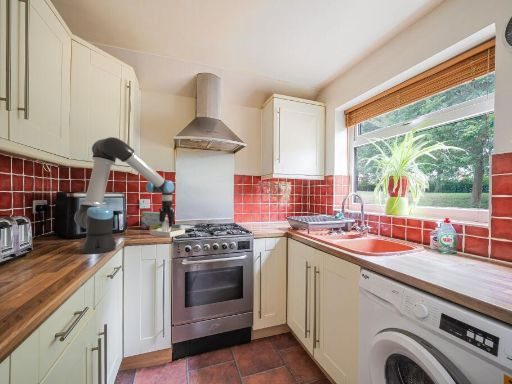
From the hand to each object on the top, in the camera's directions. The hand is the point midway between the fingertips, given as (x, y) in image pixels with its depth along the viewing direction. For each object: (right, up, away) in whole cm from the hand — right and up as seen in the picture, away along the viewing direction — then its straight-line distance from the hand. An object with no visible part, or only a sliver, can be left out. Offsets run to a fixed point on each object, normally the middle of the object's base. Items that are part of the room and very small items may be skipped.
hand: (166, 231), depth 170 cm
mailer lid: (+5, +1, +13) cm, 14 cm away
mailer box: (+1, -3, +1) cm, 3 cm away
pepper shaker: (0, -2, 0) cm, 2 cm away
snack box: (-20, -3, +22) cm, 30 cm away
